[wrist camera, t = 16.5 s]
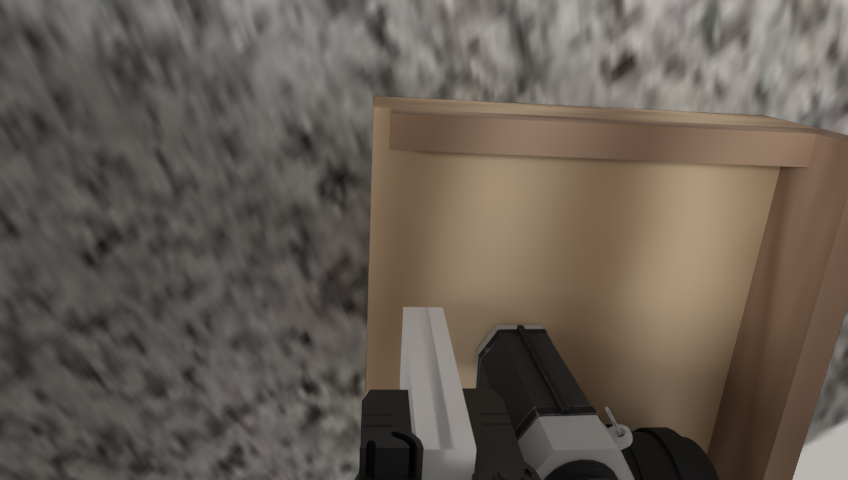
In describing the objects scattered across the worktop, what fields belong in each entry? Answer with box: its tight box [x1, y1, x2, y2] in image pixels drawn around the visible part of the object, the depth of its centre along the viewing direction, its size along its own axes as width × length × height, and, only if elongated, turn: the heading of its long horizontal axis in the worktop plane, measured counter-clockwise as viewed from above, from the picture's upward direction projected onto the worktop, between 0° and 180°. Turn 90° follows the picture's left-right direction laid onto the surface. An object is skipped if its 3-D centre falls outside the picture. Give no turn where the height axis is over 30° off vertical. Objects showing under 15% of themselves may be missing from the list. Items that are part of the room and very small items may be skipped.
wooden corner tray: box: [365, 96, 848, 480], centre depth 21 cm, size 14×15×6 cm
